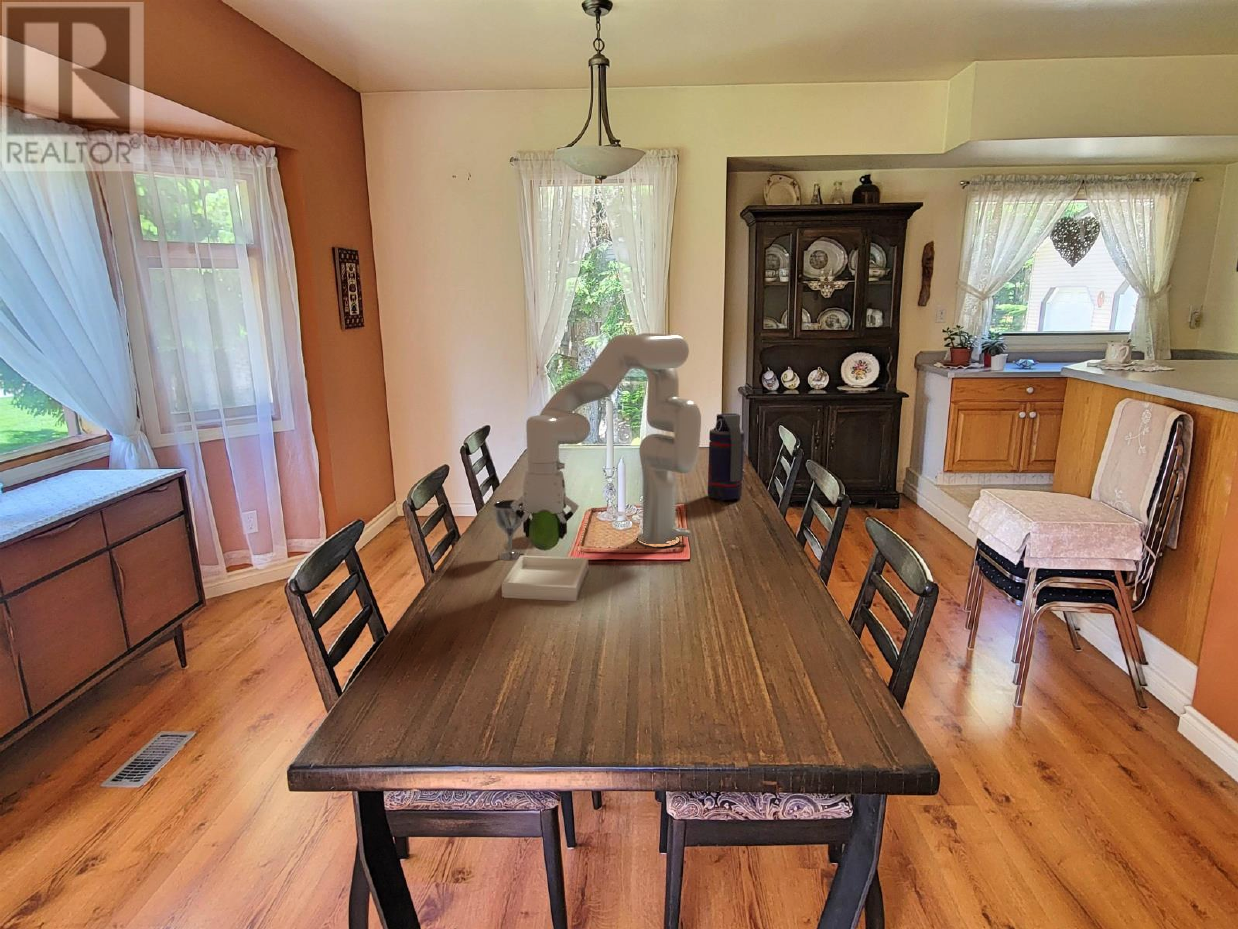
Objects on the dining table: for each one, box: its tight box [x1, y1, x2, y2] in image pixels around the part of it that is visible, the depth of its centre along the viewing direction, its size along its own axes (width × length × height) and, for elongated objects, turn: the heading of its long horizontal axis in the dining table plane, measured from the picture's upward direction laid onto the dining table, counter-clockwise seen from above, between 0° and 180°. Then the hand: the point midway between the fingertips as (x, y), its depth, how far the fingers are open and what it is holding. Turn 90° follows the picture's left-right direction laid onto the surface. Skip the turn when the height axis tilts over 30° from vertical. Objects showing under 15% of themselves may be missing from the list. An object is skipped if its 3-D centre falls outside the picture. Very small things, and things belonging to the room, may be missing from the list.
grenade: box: [707, 413, 745, 503], centre depth 234 cm, size 14×12×30 cm
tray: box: [501, 554, 589, 602], centre depth 169 cm, size 18×18×4 cm
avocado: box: [528, 510, 561, 552], centre depth 166 cm, size 8×8×12 cm
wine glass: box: [493, 499, 525, 561], centre depth 186 cm, size 8×8×15 cm
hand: (545, 535), depth 167 cm, fingers closed on avocado, 8 cm apart
